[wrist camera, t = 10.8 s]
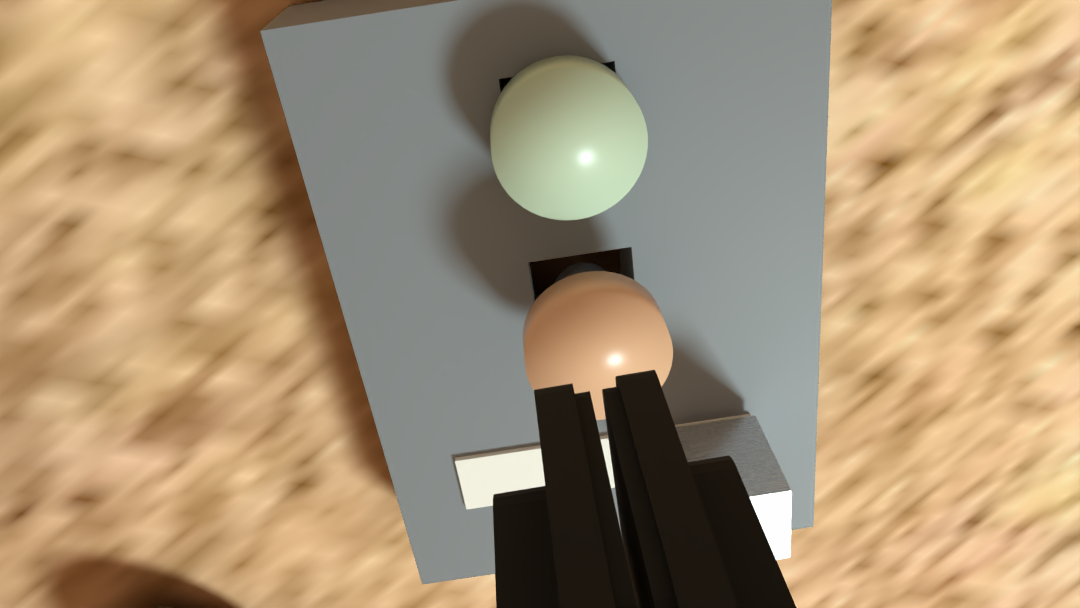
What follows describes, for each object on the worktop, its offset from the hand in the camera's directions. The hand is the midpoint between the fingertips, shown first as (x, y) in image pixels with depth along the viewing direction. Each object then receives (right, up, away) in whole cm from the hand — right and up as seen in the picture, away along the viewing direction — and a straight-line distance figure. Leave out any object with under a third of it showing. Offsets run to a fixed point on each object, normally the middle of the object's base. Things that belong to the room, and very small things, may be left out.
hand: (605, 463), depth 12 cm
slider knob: (+6, -3, +19) cm, 20 cm away
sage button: (0, +9, +16) cm, 18 cm away
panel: (+1, +3, +20) cm, 21 cm away
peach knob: (+1, +3, +17) cm, 17 cm away
